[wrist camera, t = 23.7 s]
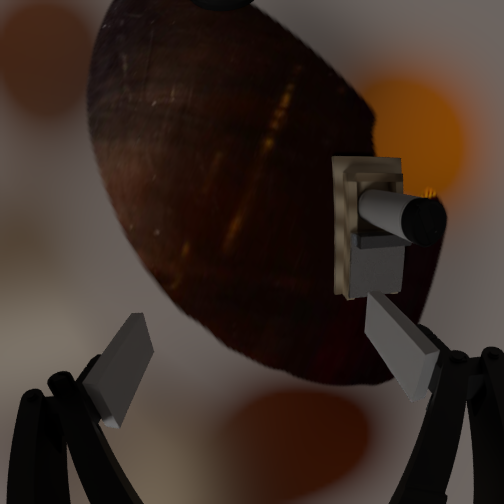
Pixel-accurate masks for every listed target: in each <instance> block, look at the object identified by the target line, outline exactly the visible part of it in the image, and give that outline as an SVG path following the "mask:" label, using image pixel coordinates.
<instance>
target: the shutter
mask: <svg viewBox="0 0 504 504" xmlns="http://www.w3.org/2000/svg"><path fill="white" fill-rule="evenodd" d="M409 245H411V242H410V241H408V240H406V239H403V238H401V237H399V236H397V235H395V234H393V233H390V232H388V231H370V232H354V233H350V268H349V291H348V297H349V299H351V298H359V297H367V296H368V292H371V291H378V290H380V291H381V292H382V293H383V294H388V293H395V292H401V285H402V276H403V265H404V252H405V246H409Z"/></svg>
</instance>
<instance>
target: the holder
mask: <svg viewBox="0 0 504 504" xmlns="http://www.w3.org/2000/svg"><path fill="white" fill-rule="evenodd" d="M332 166H333V186H334V218H335V271H334V293H335V295H336V294H343V295H344V296H345V298H346V299H347V300H352V299H355V298H351V299H349V297H348V291H349V268H350V233H354V232H370V231H386V230H384V229H381V228H379V227H377V226H375V225H372V224H370V223H368V222H365V221H364V220H362V219H361V218H360V217H359V215H358V213H357V199H358V197H359V195H360V194H361V193H362V192H363V191H365V190H368V189H375V190H382V191H388V192H394V193H400V194H403V174H402V173H401V158H390V157H362V156H332ZM395 293H398V292H395ZM395 293H391V294H395Z"/></svg>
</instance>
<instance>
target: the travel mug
mask: <svg viewBox="0 0 504 504" xmlns="http://www.w3.org/2000/svg"><path fill="white" fill-rule="evenodd" d="M357 213H358V215H359V217H360V218H361V219H362V220H364V221H365V222H368V223H370V224H372V225H375V226H377V227H379V228H381V229H384V230H386V231H388V232H390V233H393V234H395V235H397V236H399V237H401V238H403V239H406V240H408V241H410V242H412V243H415V244H417V245H419V246H421V247H428V246H430V245H433V244H434V243H435V242H437V241H438V239H440V237H441V236H442V235H443V233H444V230H445V227H446V213H445V210H444V208H443V206H442V205H441V204H440V203H439V202H437V201H434V200H430V199H428V198H422V197H416V196H411V195H405V194H400V193H394V192H388V191H382V190H375V189H368V190H365V191H363V192H362V193H361V194H360V195H359V197H358V199H357Z"/></svg>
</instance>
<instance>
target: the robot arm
mask: <svg viewBox="0 0 504 504" xmlns="http://www.w3.org/2000/svg"><path fill="white" fill-rule="evenodd" d="M191 1H192V2H193V3H194V4H195V5H197V6H199V7H201V8H204V9H207V10H213V11H228V10H234V9H238V8H241V7H244V6H246V5H248V4H250V3H251V2H253V1H254V0H191ZM365 333H366V335H367V336H368V338H369V339H370V341H371V342H372V344H373V345H374V347H375V348H376V350H377V351H378V352H379V354H380V355H381V357H382V358H383V360H384V361H385V363H386V364H387V366H388V367H389V369H390V370H391V372H392V373H393V375H394V376H395V378H396V380H397V381H398V382H399V384H400V386H401V387H402V389H403V390H404V392H405V393H406V395H407V397H408V398H409V400H410V401H411V402H414V401H417V400H420V399H423V398H425V396H426V393H427V390H428V389H429V390H430V391H431V393H432V395H431V398H430V400H429V403H428V405H427V408H426V410H427V411H426V415H425V417H424V421H423V424H422V427H421V430H420V433H419V435H418V438H417V441H416V444H415V446H414V449H413V451H412V454H411V456H410V459H409V461H408V464H407V466H406V468H405V471H404V473H403V476H402V477H401V480H400V482H399V484H398V486H397V488H396V490H395V492H394V494H393V496H392V498H391V500H390V502H389V504H446V502H447V495H446V494H445V491H446V488H447V485H448V482H449V478H450V475H451V472H452V468H453V464H454V460H455V457H456V452H457V449H458V444H459V439H460V435H461V430H462V424H463V418H464V412H465V406H466V401H467V408H468V414H469V421H470V430H471V439H472V450H473V469H474V500H473V504H504V353H503V351H502V350H500V349H499V348H496V347H486V348H485V349H484V350H483V351H482V354H481V357H473V358H469V357H468V355H467V354H466V353H464V352H462V351H458V350H453V351H451V350H450V349H449V348H448V347H447V346H446V345H445V344H444V343H443V342H442V341H441V340H440V339H438V338H437V336H436V335H435V334H433V332H432V331H431V330H430V329H429V328H427V327H425V326H423V325H421V324H418V325H414V324H413V322H412V321H410V320H409V319H408V318H407V317H406V316H405V315H404V314H403V313H402V312H401V311H400V310H399V309H398V308H397V307H396V306H395V305H394V304H393V303H392V302H391V301H390V300H389V299H388V298H387V297H386V296H385V295H384V294H383V293H382V292H381V291H380V290H378V291H371V292H368V298H367V311H366V323H365ZM153 353H154V350H153V347H152V343H151V340H150V336H149V333H148V329H147V326H146V322H145V318H144V314H143V313H132V314H131V315H130V316H129V318H128V319H127V320H126V322H125V323H124V324H123V326H122V327H121V328H120V330H119V331H118V333H117V334H116V335H115V337H114V338H113V339H112V341H111V342H110V344H109V345H108V347H107V348H106V349H105V351H104V352H103V353H102V355H101V354H98V355H96V356H95V357H94V358H92V359H91V360H90V362H89V363H88V364H87V367H85V368H84V370H83V371H82V373H81V374H80V376H79V377H78V378H77V380H76V381H74V378H73V376H72V375H71V373H70V372H67V371H61V372H57V373H55V374H53V375H52V376H51V377H50V378H49V379H48V382H47V384H48V386H49V388H50V390H51V392H52V394H53V395H54V396H50V397H45V396H44V395H43V393H42V391H41V390H39V389H31V390H28V391H26V392H25V393H24V394H23V396H22V398H21V401H20V405H19V410H18V414H17V419H16V423H15V429H14V434H13V440H12V446H11V453H10V461H9V470H8V482H7V504H71V503H70V494H69V484H68V470H67V445H68V448H69V451H70V454H71V457H72V460H73V463H74V465H75V468H76V471H77V473H78V476H79V478H80V481H81V483H82V485H83V488H84V490H85V493H86V495H87V497H88V499H89V502H90V504H144V503H143V502H142V500H141V499H140V498H139V496H138V494H137V493H136V491H135V490H134V488H133V487H132V485H131V483H130V482H129V480H128V478H127V477H126V475H125V473H124V472H123V470H122V468H121V466H120V465H119V463H118V461H117V459H116V457H115V455H114V453H113V452H112V450H111V448H110V446H109V444H108V442H107V440H106V438H105V436H104V434H103V431H102V429H101V427H100V426H99V424H98V423H99V421H100V419H102V420H103V422H104V424H105V425H106V426H107V427H113V428H120V427H121V424H122V422H123V420H124V417H125V415H126V413H127V410H128V408H129V406H130V403H131V401H132V399H133V397H134V394H135V392H136V390H137V388H138V385H139V383H140V381H141V379H142V377H143V374H144V372H145V370H146V368H147V365H148V363H149V361H150V359H151V357H152V355H153Z"/></svg>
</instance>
